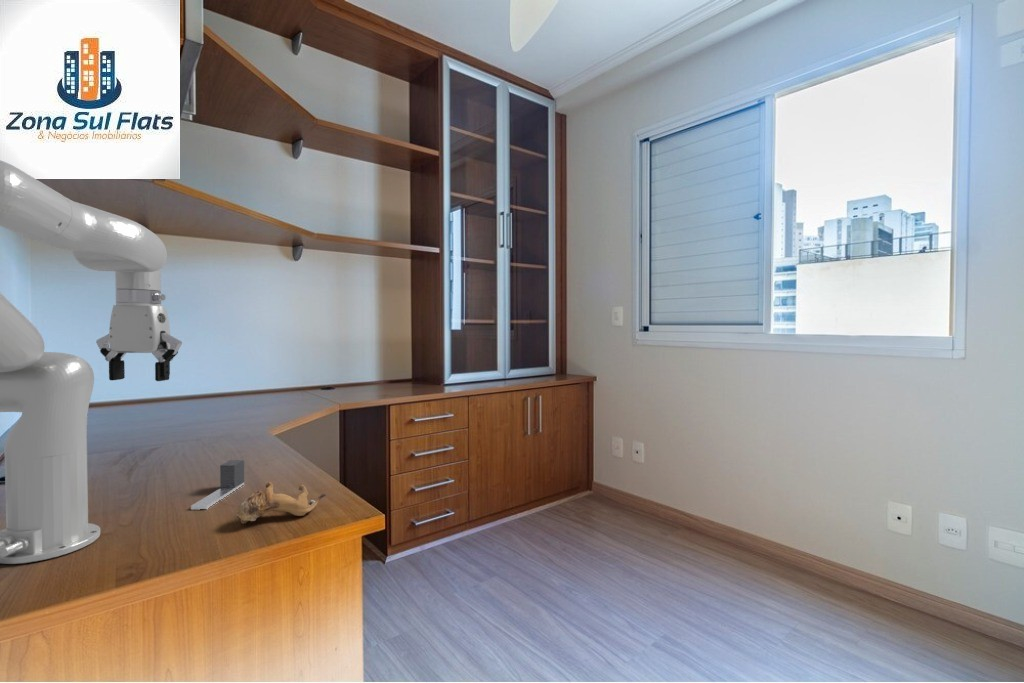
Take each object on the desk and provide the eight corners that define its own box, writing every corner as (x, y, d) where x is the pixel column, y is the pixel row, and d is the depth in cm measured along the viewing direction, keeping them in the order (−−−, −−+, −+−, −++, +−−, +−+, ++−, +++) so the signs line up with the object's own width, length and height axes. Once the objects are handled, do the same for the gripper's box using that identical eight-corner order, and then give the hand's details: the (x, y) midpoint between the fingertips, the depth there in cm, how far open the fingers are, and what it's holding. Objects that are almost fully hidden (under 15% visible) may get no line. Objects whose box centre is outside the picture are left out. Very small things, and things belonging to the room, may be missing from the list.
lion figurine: (245, 507, 93) (233, 530, 84) (246, 481, 92) (234, 502, 84) (325, 504, 97) (321, 527, 89) (327, 480, 97) (323, 500, 88)
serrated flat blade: (230, 486, 107) (230, 460, 107) (244, 486, 107) (244, 460, 107) (190, 510, 93) (190, 480, 93) (206, 510, 93) (206, 480, 93)
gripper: (191, 300, 104) (192, 378, 104) (113, 299, 104) (114, 377, 104) (166, 298, 96) (167, 383, 97) (81, 297, 96) (83, 381, 97)
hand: (139, 380), depth 100 cm, fingers open, 9 cm apart
